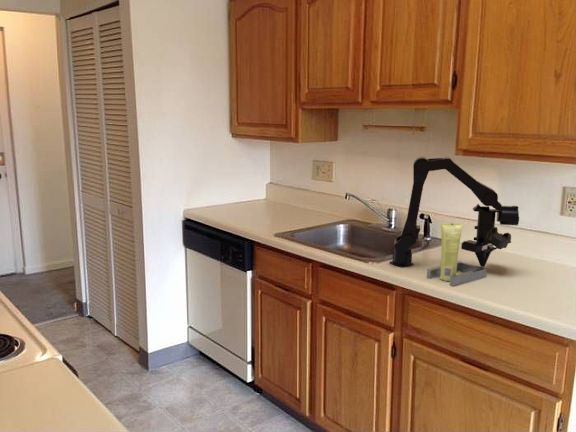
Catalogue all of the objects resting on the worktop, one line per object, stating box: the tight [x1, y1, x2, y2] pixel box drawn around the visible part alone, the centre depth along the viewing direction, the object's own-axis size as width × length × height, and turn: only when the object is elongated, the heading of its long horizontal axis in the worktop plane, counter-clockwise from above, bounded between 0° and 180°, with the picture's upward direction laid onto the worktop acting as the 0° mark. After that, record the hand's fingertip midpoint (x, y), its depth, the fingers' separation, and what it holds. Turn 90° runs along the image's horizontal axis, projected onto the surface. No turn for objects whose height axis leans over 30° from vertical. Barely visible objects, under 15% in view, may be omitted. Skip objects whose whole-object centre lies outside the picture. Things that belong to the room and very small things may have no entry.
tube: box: [439, 222, 464, 282], centre depth 177 cm, size 6×5×20 cm
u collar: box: [426, 260, 488, 287], centre depth 181 cm, size 11×18×3 cm, turn 125°
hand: (482, 266), depth 189 cm, fingers closed
